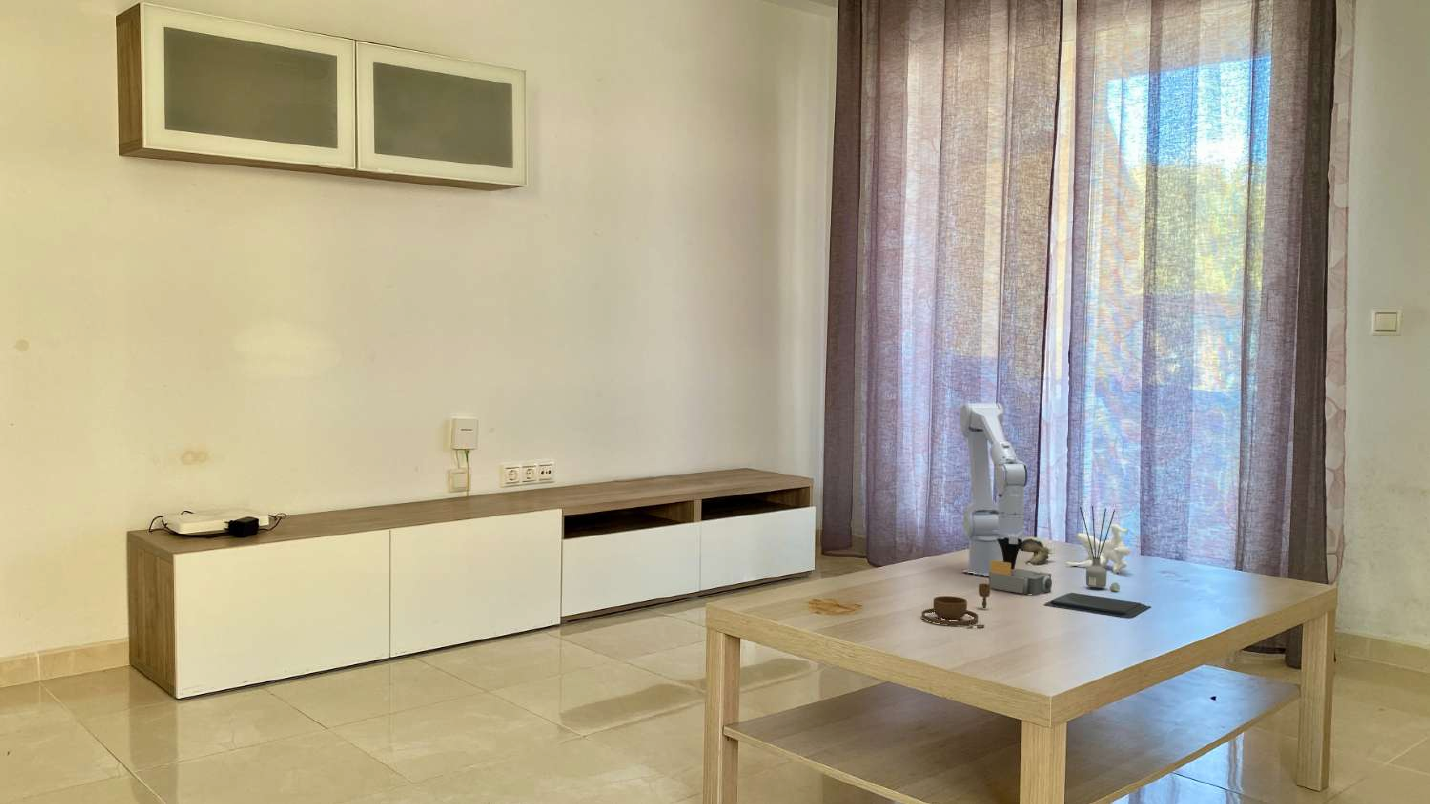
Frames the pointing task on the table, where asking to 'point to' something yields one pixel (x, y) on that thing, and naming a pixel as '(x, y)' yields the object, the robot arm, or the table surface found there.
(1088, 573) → the reed diffuser
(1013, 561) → the robot arm
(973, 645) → the table surface
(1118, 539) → the person figurine
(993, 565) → the side hatch
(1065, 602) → the wallet
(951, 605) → the place setting
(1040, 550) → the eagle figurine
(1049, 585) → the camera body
